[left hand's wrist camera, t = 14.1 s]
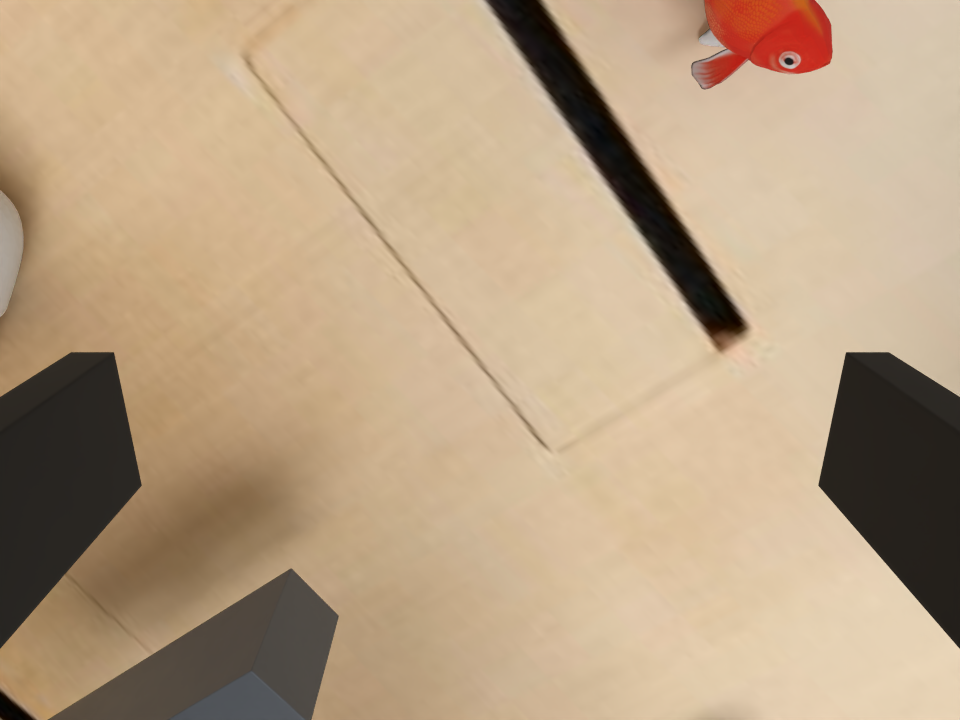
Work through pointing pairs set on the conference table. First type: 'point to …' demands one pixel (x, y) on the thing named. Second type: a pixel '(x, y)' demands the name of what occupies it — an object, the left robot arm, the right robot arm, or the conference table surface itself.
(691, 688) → the conference table surface
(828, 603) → the conference table surface
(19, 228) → the projector
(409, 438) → the conference table surface
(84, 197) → the conference table surface
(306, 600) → the bar
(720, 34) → the fish
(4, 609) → the left robot arm
